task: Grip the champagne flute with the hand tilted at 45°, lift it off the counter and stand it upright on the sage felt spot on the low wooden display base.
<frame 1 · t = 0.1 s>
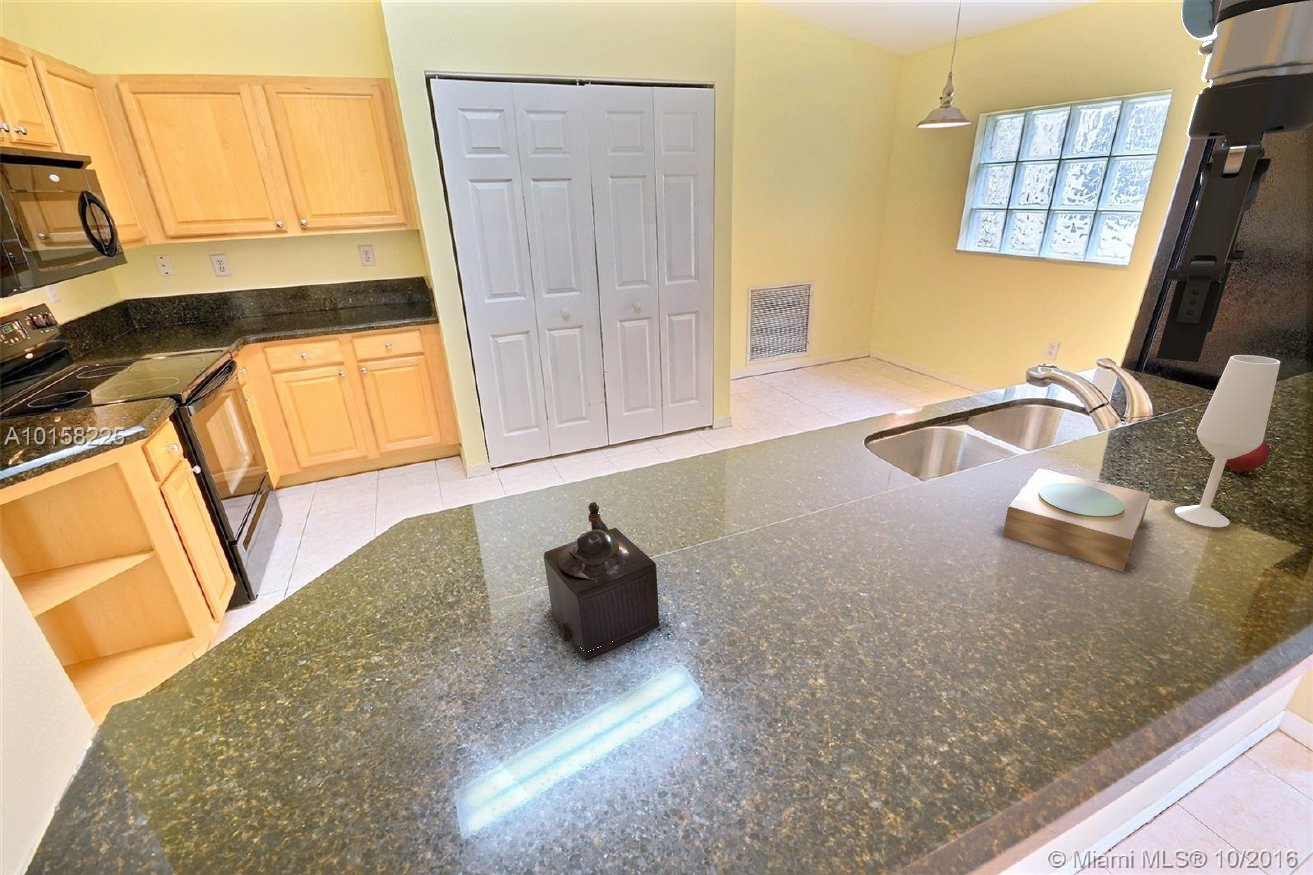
hand: (1185, 344, 54), 33 cm above the countertop, tool pointing down, fingers open, 13 cm apart
champagne flute: (1200, 519, 85), on the countertop
onion: (1236, 473, 97), on the countertop
wooden display base: (1072, 530, 84), on the countertop
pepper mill: (612, 634, 70), on the countertop
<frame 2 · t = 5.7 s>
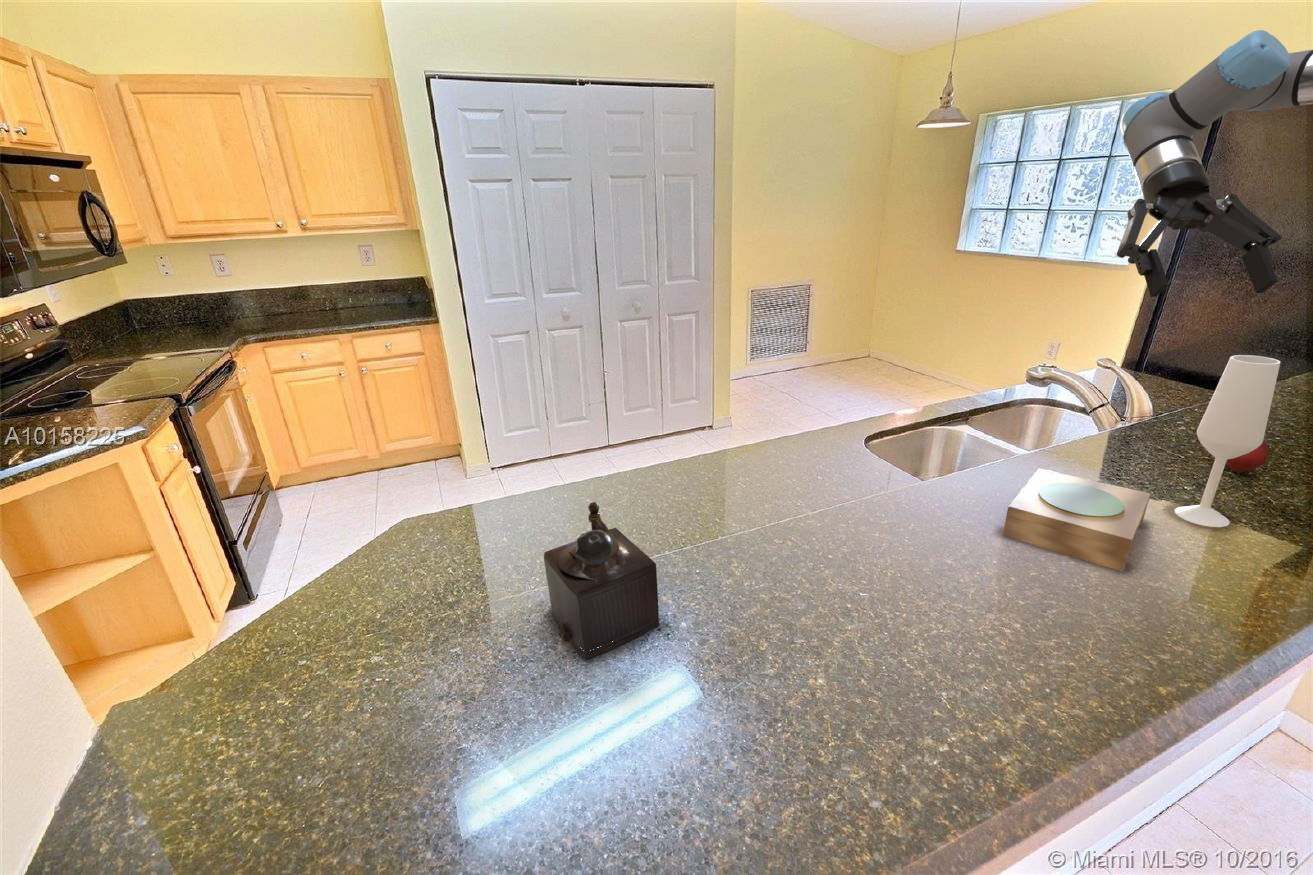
hand: (1212, 289, 83), 32 cm above the countertop, tool tilted 45°, fingers open, 13 cm apart
nothing on the countertop moved.
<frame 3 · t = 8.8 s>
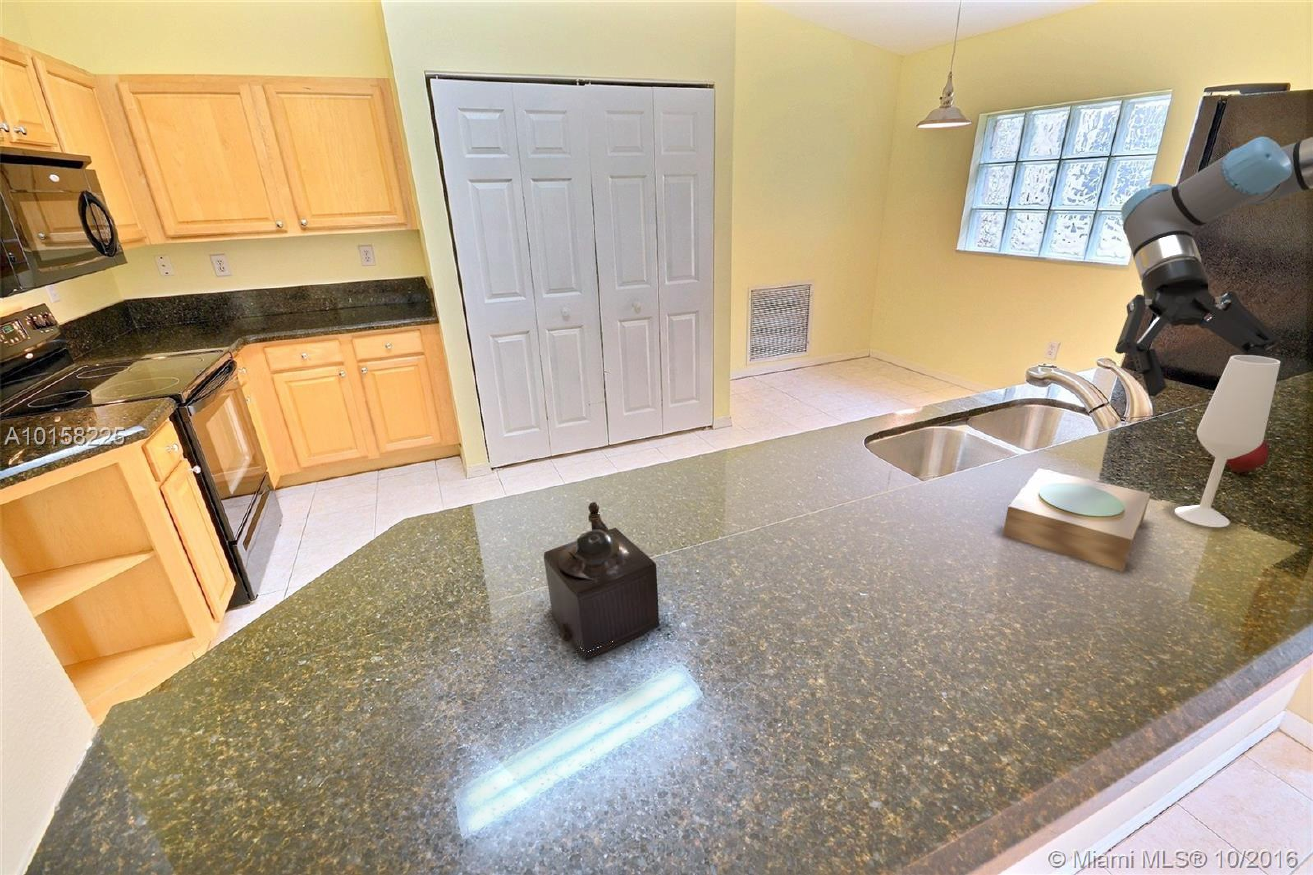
hand: (1210, 391, 83), 18 cm above the countertop, tool tilted 45°, fingers open, 13 cm apart
nothing on the countertop moved.
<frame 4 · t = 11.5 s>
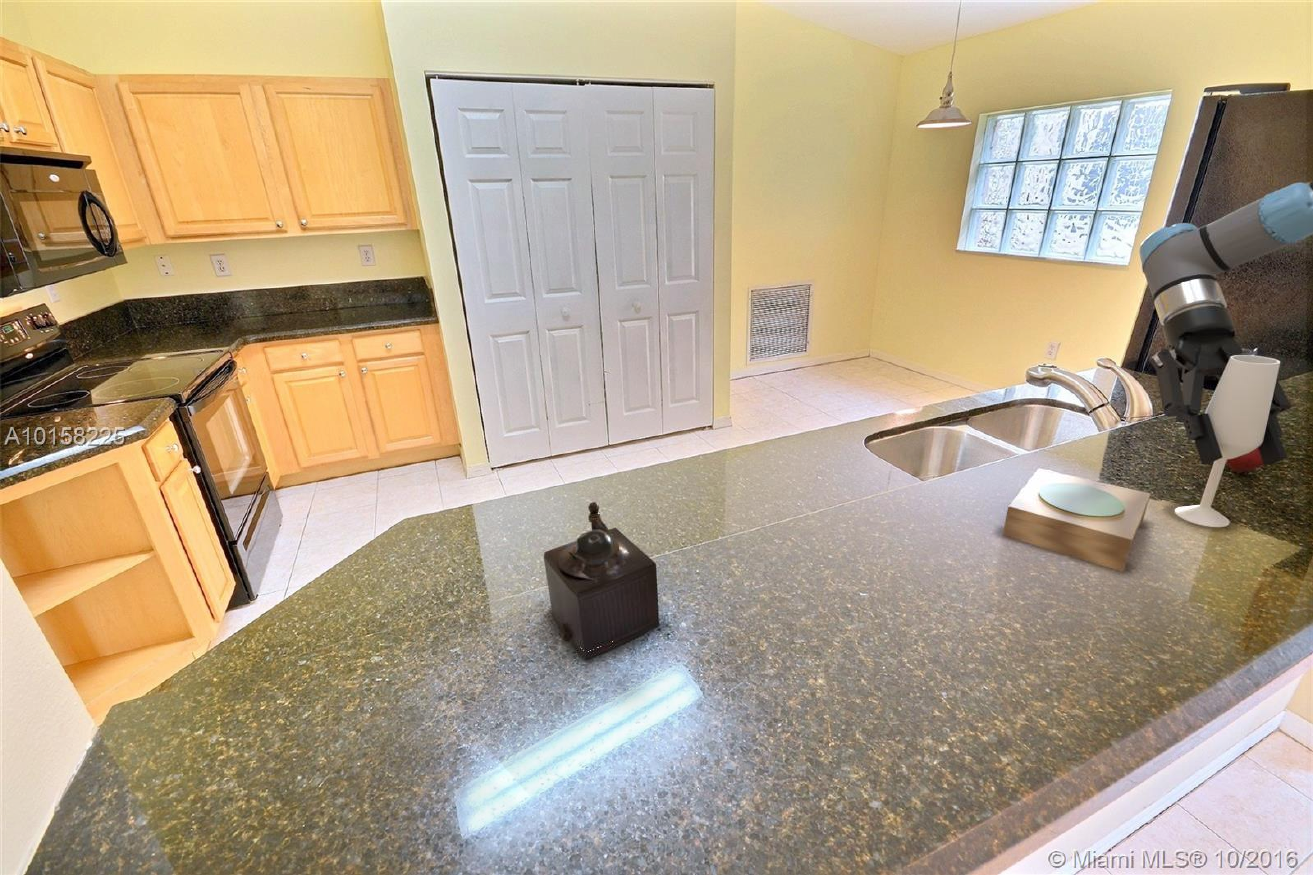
hand: (1243, 460, 78), 11 cm above the countertop, tool tilted 45°, fingers closed on champagne flute, 7 cm apart
champagne flute: (1200, 519, 85), on the countertop, touching gripper
everything else where it was.
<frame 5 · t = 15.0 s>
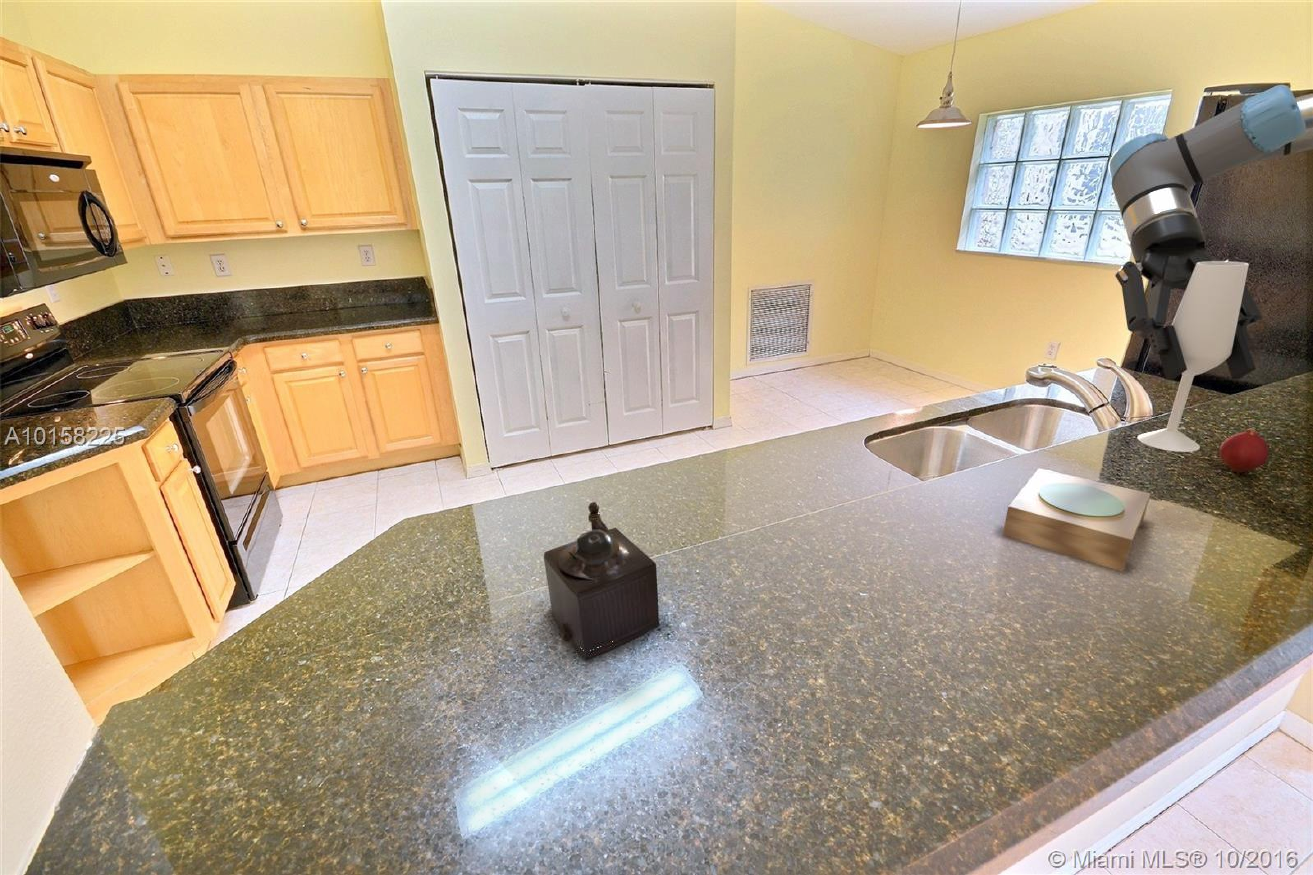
hand: (1209, 374, 73), 24 cm above the countertop, tool tilted 45°, fingers closed on champagne flute, 7 cm apart
champagne flute: (1167, 443, 80), point 13 cm above the countertop, touching gripper
everything else where it was.
when the fingers open (16 cm above the countertop, at t = 18.9 s): champagne flute stays where it is, resting on wooden display base.
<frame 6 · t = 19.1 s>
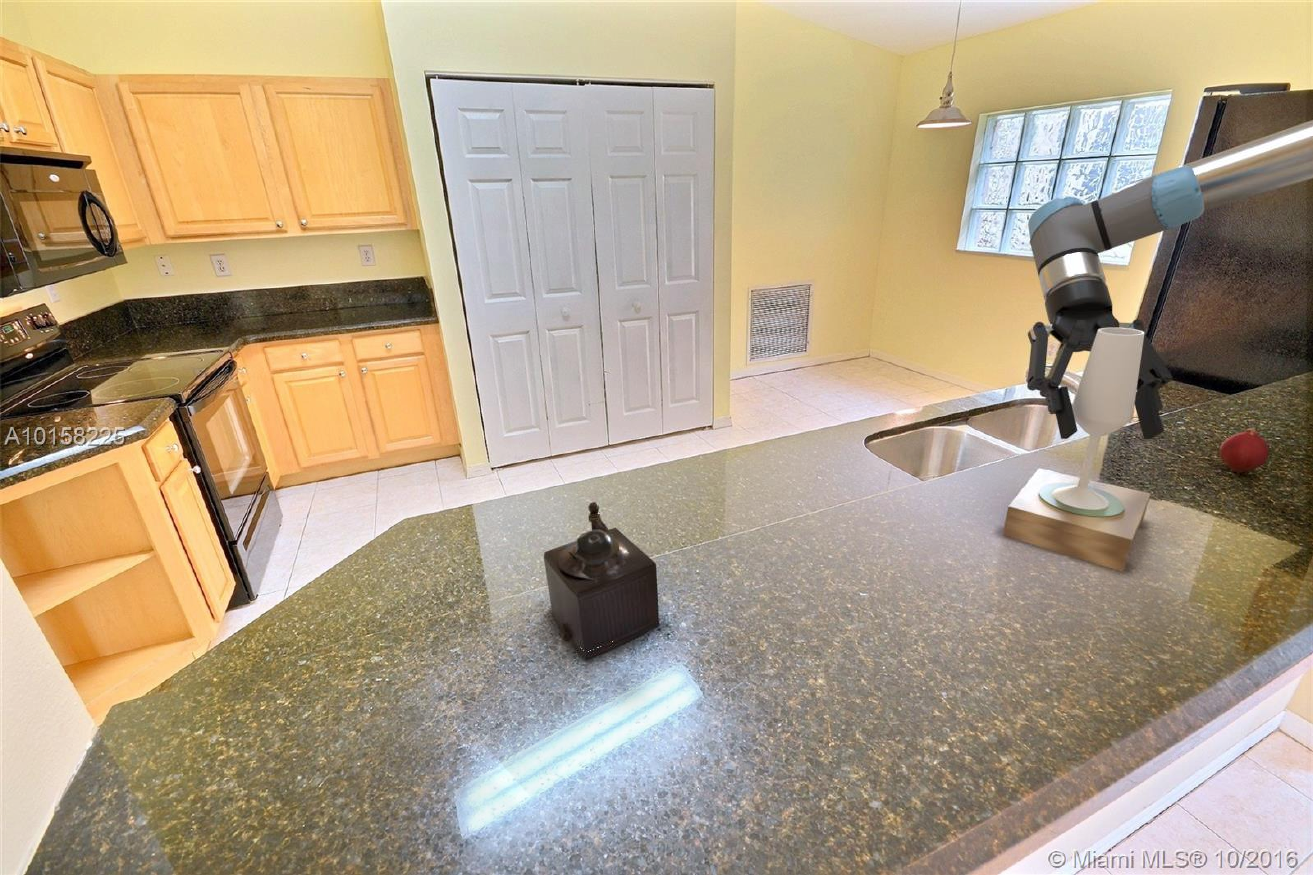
hand: (1111, 435, 75), 16 cm above the countertop, tool tilted 45°, fingers open, 9 cm apart
champagne flute: (1079, 499, 82), point 5 cm above the countertop, touching wooden display base
everything else where it was.
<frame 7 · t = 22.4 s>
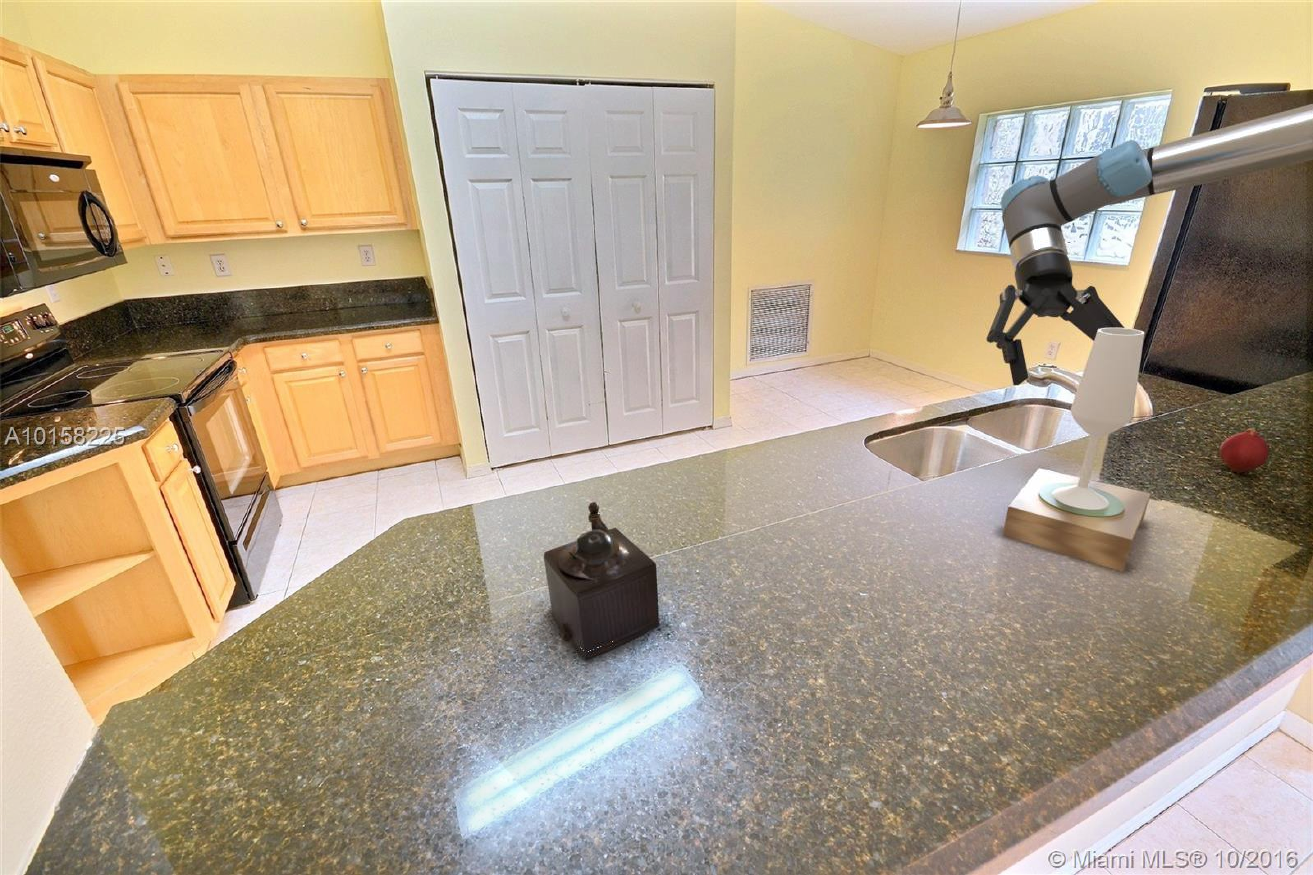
hand: (1067, 382, 87), 19 cm above the countertop, tool tilted 40°, fingers open, 13 cm apart
nothing on the countertop moved.
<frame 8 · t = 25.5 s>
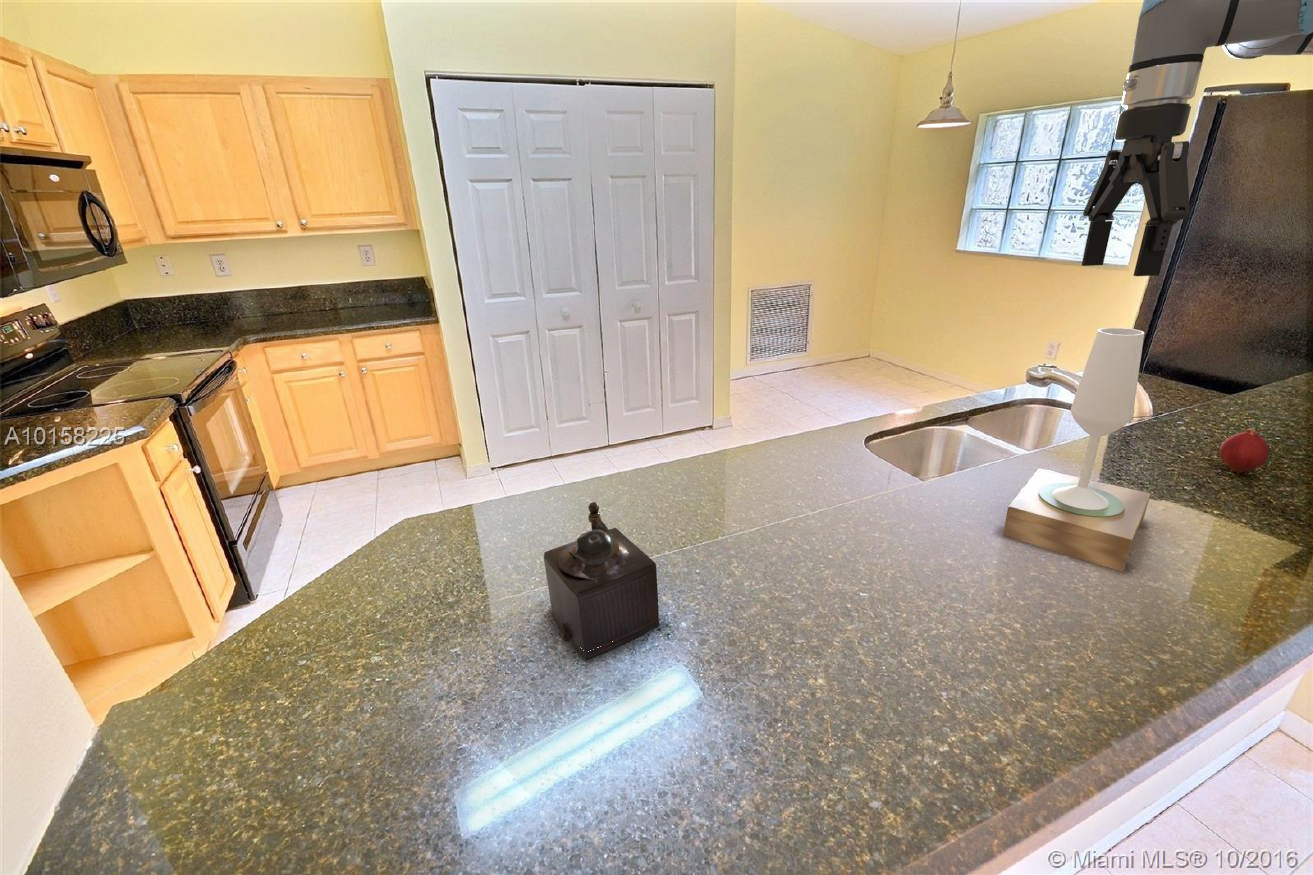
hand: (1117, 270, 85), 35 cm above the countertop, tool pointing down, fingers open, 13 cm apart
nothing on the countertop moved.
at the end: champagne flute 0.1 cm off-centre on the wooden display base, point 5.0 cm above the wooden display base's base; champagne flute tilted 0°; the gripper is holding nothing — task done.
